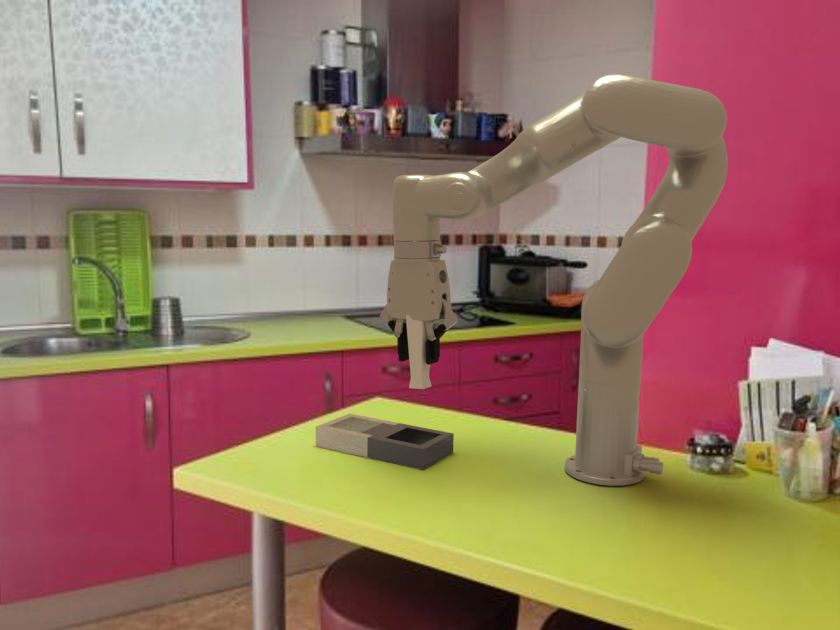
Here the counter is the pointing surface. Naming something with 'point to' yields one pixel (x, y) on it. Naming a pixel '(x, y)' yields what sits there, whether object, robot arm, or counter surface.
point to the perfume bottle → (417, 354)
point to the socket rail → (385, 440)
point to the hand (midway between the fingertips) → (418, 360)
